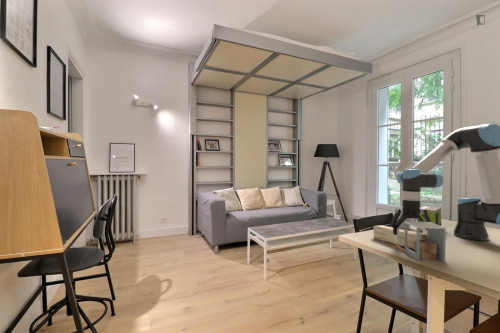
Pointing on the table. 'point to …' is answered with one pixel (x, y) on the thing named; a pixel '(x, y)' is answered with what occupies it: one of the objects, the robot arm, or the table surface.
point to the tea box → (432, 215)
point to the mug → (404, 222)
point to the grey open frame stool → (434, 235)
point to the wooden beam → (388, 236)
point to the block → (426, 249)
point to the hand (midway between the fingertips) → (410, 241)
